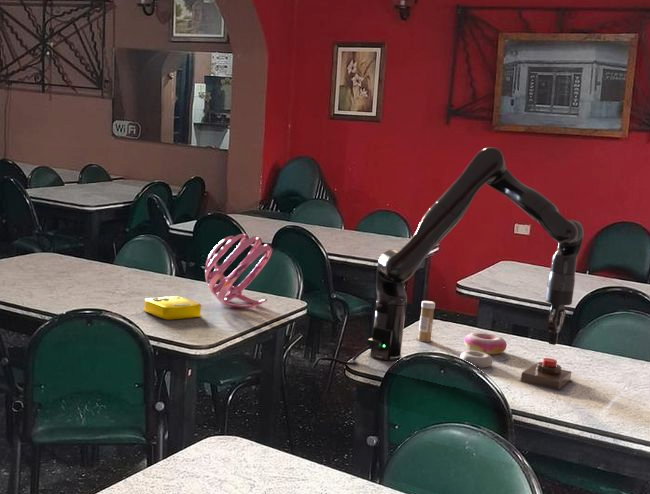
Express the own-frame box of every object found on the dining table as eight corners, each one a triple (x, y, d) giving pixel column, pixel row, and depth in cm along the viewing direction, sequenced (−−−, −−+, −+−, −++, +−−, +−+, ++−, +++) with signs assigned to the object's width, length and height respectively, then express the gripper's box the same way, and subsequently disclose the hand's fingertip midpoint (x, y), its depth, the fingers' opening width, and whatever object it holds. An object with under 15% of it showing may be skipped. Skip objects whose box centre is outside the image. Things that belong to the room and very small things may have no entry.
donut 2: (490, 371, 260) (493, 363, 269) (491, 360, 259) (494, 352, 269) (457, 365, 263) (461, 357, 272) (458, 355, 262) (463, 347, 272)
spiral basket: (305, 257, 320) (252, 210, 324) (269, 284, 297) (212, 233, 301) (270, 305, 335) (219, 260, 339) (232, 334, 312) (179, 285, 316)
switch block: (557, 390, 246) (560, 375, 245) (520, 381, 252) (522, 366, 251) (570, 380, 258) (572, 365, 257) (534, 371, 264) (536, 357, 263)
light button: (553, 369, 253) (554, 362, 252) (540, 366, 255) (541, 359, 254) (557, 366, 256) (558, 360, 256) (544, 363, 258) (545, 357, 258)
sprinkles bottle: (433, 341, 290) (438, 303, 288) (423, 342, 288) (428, 303, 286) (424, 338, 294) (429, 300, 292) (414, 338, 292) (419, 300, 289)
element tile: (165, 320, 286) (166, 306, 285) (142, 310, 297) (143, 297, 296) (202, 316, 296) (203, 303, 295) (178, 307, 307) (179, 294, 306)
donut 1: (456, 348, 284) (457, 333, 283) (476, 343, 294) (478, 329, 293) (491, 358, 275) (493, 343, 274) (512, 352, 285) (514, 338, 284)
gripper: (553, 282, 259) (546, 337, 262) (541, 287, 248) (533, 345, 251) (578, 286, 255) (570, 342, 258) (567, 292, 244) (559, 350, 247)
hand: (552, 344), depth 254 cm, fingers closed
